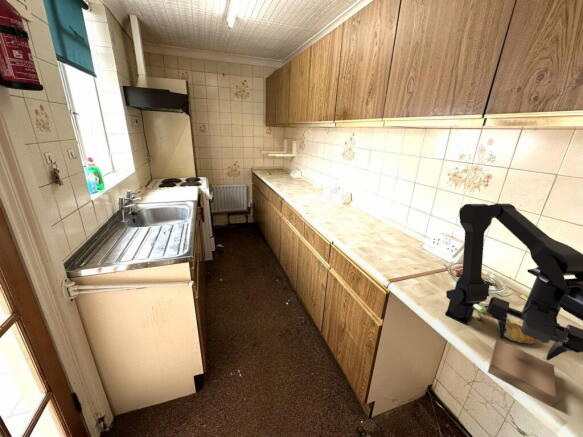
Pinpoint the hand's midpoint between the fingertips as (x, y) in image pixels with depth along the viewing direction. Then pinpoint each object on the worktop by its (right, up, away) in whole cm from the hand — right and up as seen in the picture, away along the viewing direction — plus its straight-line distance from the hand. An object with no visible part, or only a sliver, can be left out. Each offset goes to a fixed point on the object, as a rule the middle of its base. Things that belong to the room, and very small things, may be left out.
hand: (523, 348), depth 64 cm
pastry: (+11, -6, +11) cm, 17 cm away
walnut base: (0, -7, +1) cm, 7 cm away
